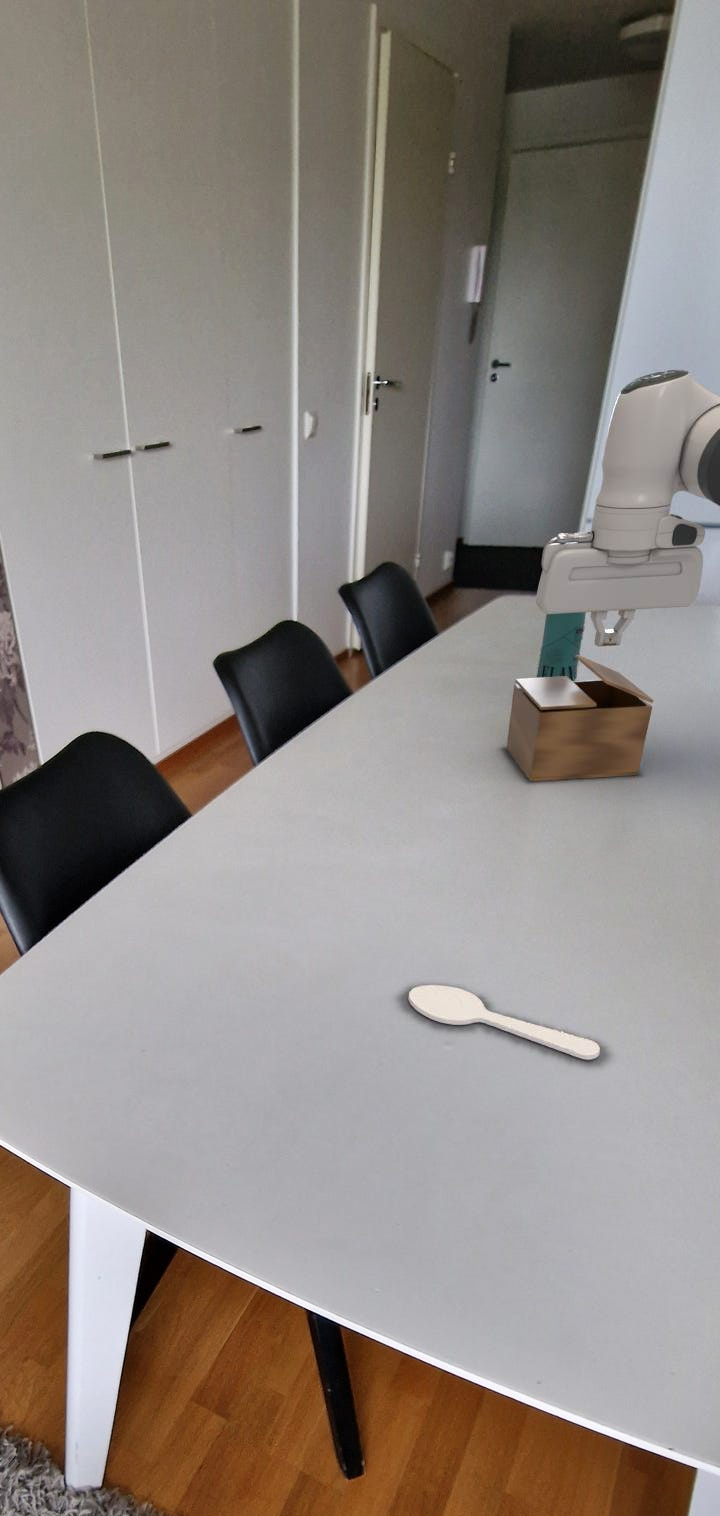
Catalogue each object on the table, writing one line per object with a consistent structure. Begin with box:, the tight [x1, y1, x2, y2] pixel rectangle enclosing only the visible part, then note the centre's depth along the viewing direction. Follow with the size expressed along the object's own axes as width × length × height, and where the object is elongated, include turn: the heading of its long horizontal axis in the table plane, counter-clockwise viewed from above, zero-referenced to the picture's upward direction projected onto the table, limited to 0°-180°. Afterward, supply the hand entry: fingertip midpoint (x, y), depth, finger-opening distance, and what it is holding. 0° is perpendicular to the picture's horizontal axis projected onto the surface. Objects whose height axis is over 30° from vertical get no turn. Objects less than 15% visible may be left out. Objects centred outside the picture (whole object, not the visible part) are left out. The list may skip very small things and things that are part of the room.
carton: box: [505, 676, 653, 782], centre depth 131 cm, size 15×13×10 cm
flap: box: [575, 654, 654, 704], centre depth 127 cm, size 7×13×1 cm, turn 1°
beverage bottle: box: [535, 612, 587, 681], centre depth 150 cm, size 6×7×20 cm
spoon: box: [408, 984, 601, 1061], centre depth 84 cm, size 5×18×1 cm, turn 54°
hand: (606, 645), depth 124 cm, fingers closed
